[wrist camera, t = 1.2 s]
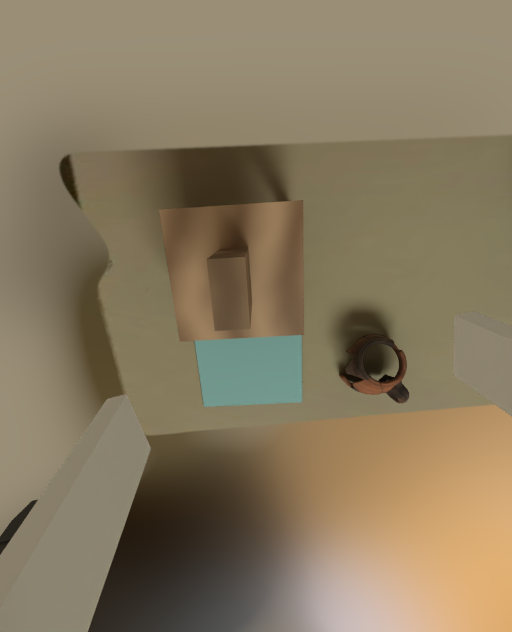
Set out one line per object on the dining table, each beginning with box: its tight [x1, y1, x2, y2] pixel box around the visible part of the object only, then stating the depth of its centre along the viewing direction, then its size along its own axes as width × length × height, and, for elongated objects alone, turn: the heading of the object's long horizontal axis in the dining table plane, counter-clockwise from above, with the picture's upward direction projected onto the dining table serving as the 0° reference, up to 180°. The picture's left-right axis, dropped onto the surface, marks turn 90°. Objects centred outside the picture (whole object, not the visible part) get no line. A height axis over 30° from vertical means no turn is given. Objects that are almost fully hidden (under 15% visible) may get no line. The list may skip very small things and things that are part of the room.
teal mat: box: [195, 335, 302, 407], centre depth 46 cm, size 17×16×1 cm
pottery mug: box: [339, 334, 409, 403], centre depth 44 cm, size 12×10×8 cm
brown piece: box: [159, 200, 304, 341], centre depth 32 cm, size 14×14×20 cm
